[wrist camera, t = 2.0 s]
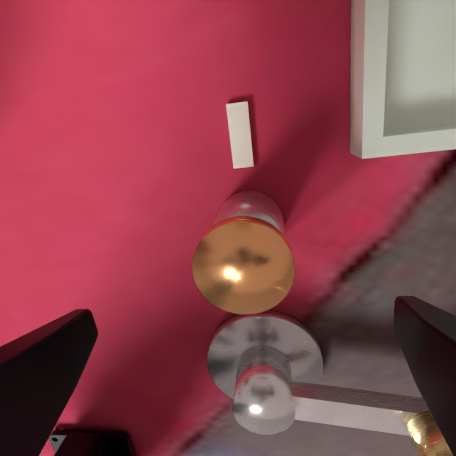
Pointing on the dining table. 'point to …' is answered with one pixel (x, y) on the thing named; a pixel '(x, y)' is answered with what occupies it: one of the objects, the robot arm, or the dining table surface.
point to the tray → (402, 77)
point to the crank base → (263, 335)
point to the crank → (324, 404)
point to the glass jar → (245, 256)
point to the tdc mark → (240, 134)
